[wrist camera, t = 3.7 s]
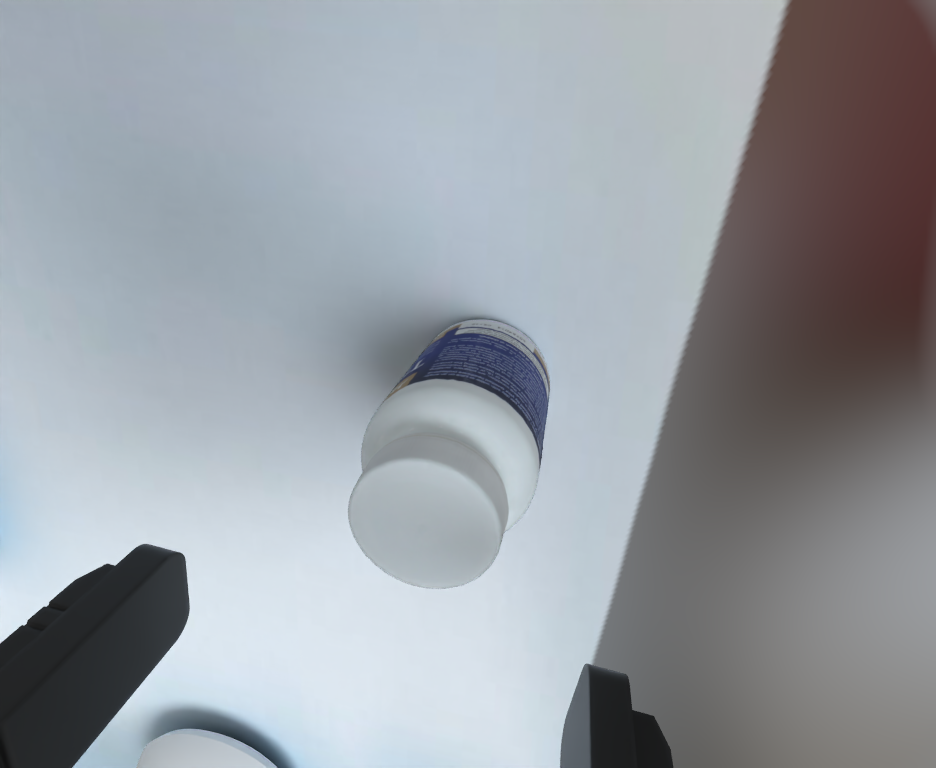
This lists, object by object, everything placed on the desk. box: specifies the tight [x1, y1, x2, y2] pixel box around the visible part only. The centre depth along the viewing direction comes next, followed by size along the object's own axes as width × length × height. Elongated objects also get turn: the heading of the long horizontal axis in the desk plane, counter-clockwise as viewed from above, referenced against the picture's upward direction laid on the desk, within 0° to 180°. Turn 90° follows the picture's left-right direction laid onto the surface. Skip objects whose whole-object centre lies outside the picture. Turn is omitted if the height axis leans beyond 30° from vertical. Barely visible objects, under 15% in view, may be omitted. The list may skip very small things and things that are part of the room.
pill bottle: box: [348, 319, 550, 589], centre depth 18 cm, size 5×5×10 cm
